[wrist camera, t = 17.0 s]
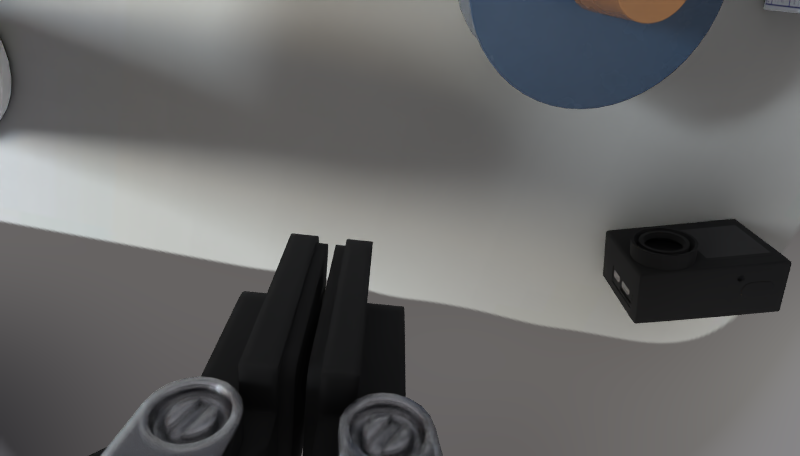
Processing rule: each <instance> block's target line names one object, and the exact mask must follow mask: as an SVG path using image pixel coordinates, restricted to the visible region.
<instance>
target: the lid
mask: <svg viewBox="0 0 800 456" xmlns="http://www.w3.org/2000/svg"><path fill="white" fill-rule="evenodd" d="M468 2H469V9H470V16H471V20H472V23H473V27H474V31H475V34H476V36H477V39H478V41H479V43H480V46H481V48H482V50H483V51H484V53H485V55H486V56H487V58H488V60H489V61H490V63H491V64H492V65H493V66H494V68H495V69H496V70H497V72H498V73H499V74H500V75H501V76H502V77H503V78H504V79H505V80H506V81H507V82H508V83H509V84H511V85H512V86H513V87H514V88H516V89H517V90H519V91H520V92H522V93H523V94H525V95H527V96H529V97H531V98H533V99H535V100H537V101H539V102H542V103H545V104H548V105H551V106H556V107H562V108H569V109H589V108H599V107H604V106H609V105H613V104H616V103H619V102H622V101H625V100H628V99H630V98H632V97H635V96H637V95H639V94H641V93H643V92H645V91H647V90H648V89H650V88H651V87H653V86H655V85H656V84H658V83H659V82H661V81H662V80H663V79H665V78H666V77H667V76H669V75H670V74H671V73H672V72H674V71H675V70H676V69H677V68H678V67H679V66H680V65H681V64H682V63H683V62H684V61H685V60H686V59H687V58H688V57H689V56H690V54H691V53H692V52H693V51H694V50H695V49H696V47H697V46H698V45H699V43H700V42H701V41H702V39H703V38H704V36H705V35H706V33H707V32H708V31H709V29H710V27H711V25H712V23H713V22H714V20H715V18H716V16H717V14H718V12H719V10H720V7H721V5H722V3H723V0H468Z"/></svg>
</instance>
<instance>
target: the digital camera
mask: <svg viewBox="0 0 800 456" xmlns="http://www.w3.org/2000/svg"><path fill="white" fill-rule="evenodd" d="M790 267H791V262H790V261H789V260H788V259H787V258H786V257H784V256H783V255H782V254H781V253H779V252H778V251H777V250H775V249H774V248H773V247H771V246H770V245H769V244H767V243H766V242H765V241H763V240H762V239H761V238H759V237H758V236H757V235H755V234H754V233H753V232H751V231H750V230H749V229H747V228H746V227H745V226H743V225H742V224H741V223H739V222H738V221H737V220H735V219H730V220H719V221H708V222H697V223H687V224H676V225H665V226H655V227H644V228H634V229H623V230H613V231H607V232H606V243H605V256H604V270H603V276H604V277H605V279H606V280H607V282H608V284H609V285H610V287H611V288H612V290H613V291H614V293H615V294H616V296H617V298H618V299H619V301H620V302H621V304H622V305H623V307H624V308H625V310H626V311H627V313H628V315H629V316H630V318H631V319H632V320H633V322H634V323H647V322H660V321H673V320H684V319H696V318H708V317H720V316H731V315H742V314H752V313H764V312H774V311H779V310H780V306H781V302H782V298H783V294H784V290H785V287H786V283H787V279H788V275H789V271H790Z"/></svg>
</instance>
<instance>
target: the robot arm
mask: <svg viewBox="0 0 800 456" xmlns="http://www.w3.org/2000/svg"><path fill="white" fill-rule="evenodd" d="M10 96H11V73H10V67H9V61H8V58H7V55H6V52H5V49H4V47H3V44H2V42H1V40H0V120H1V118H2V116H3V115H4V113H5V111H6V110H7V107H8V103H9V99H10ZM372 245H373V242H370V241H360V240H351V239H347V241H346V246H342V245H336V247H335V251H334V255H333V260H332V264H331V268H330V273H329V277H328V281H327V286H326V274H327V258H328V244H323V243H319V237H318V236H312V235H302V234H291V236H290V238H289V240H288V243H287V245H286V248H285V250H284V253H283V255H282V258H281V260H280V263H279V265H278V268H277V270H276V273H275V275H274V277H273V280H272V283H271V285H270V287H269V290H268V293H257V292H246V291H244V292H242V294H241V296H240V297H239V299H238V301H237V303H236V305H235V307H234V309H233V311H232V314H231V316H230V318H229V320H228V322H227V324H226V326H225V328H224V330H223V332H222V334H221V336H220V338H219V340H218V343H217V345H216V347H215V349H214V351H213V353H212V355H211V357H210V359H209V361H208V363H207V365H206V367H205V369H204V372H203V373H202V376H201V377H192V378H185V379H181V380H178V381H175V382H172V383H169V384H167V385H165V386H164V387H162V388H160V389H159V390H157V391H155V392H154V393H153V394H152V395H151V396H150V397H149V398H148V399H147V400H146V401H144V402H143V404H142V405H141V406H140V407H139V409H138V410H137V411H136V412H135V414H134V415H133V416H132V417H131V419H130V420H129V421H128V422H127V423H126V425H125V426H124V427H123V428H122V430H121V431H120V432H119V433H118V435H117V436H116V437H115V438H114V440H113V441H112V442H111V443H110V444H109V446H108V447H106V448H104V449H102V450H100V451H98V452H96V453H93V454H91V455H89V456H301V454H302V449H303V456H443V454H442V451H441V447H440V443H439V439H438V435H437V431H436V428H435V425H434V423H433V421H432V419H431V416H430V415H429V414H428V413H427V412H426V411H425V409H424V408H423V407H422V406H421V405H419V404H418V403H416V402H414V401H413V400H411V399H409V398H407V397H406V396H405V395H406V393H405V328H404V327H405V324H404V323H405V321H404V307H402V306H392V305H381V304H371V303H367V296H368V287H369V276H370V266H371V256H372ZM325 289H326V290H325Z"/></svg>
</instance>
